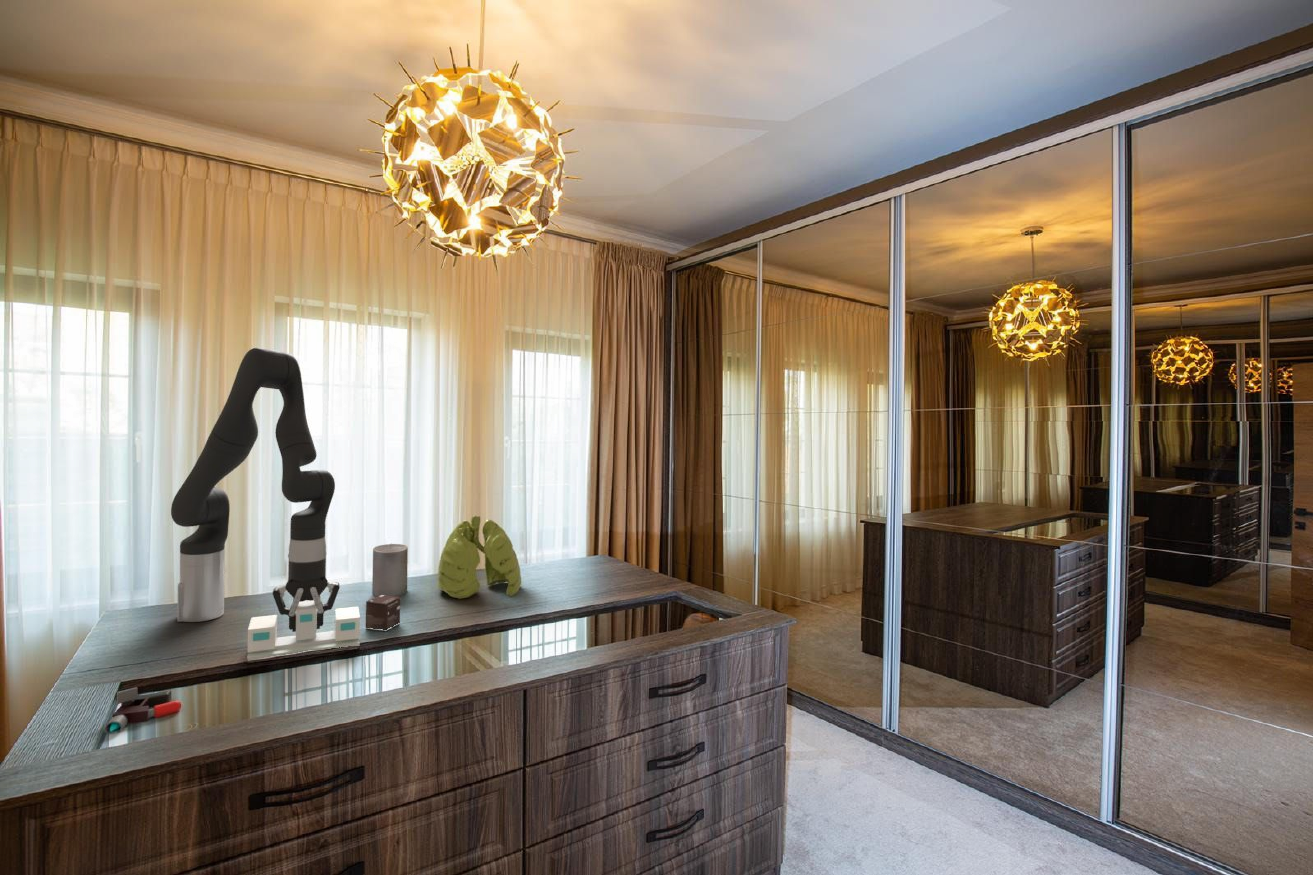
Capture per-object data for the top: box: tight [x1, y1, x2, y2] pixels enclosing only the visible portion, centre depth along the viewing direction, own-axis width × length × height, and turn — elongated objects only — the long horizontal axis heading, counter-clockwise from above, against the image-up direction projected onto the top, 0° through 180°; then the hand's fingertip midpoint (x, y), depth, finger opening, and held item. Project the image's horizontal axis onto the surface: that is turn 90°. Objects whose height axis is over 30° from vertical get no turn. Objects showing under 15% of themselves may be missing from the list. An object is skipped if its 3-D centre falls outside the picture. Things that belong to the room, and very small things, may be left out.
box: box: [365, 595, 401, 630], centre depth 158 cm, size 6×6×7 cm
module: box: [295, 600, 317, 641], centre depth 142 cm, size 4×6×7 cm, turn 29°
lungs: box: [437, 515, 522, 600], centre depth 189 cm, size 25×16×24 cm, turn 111°
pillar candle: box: [371, 543, 409, 597], centre depth 184 cm, size 10×10×15 cm
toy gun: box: [103, 687, 182, 735], centre depth 111 cm, size 10×12×5 cm
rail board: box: [246, 606, 361, 660], centre depth 142 cm, size 22×10×7 cm, turn 119°
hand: (306, 629), depth 142 cm, fingers open, 4 cm apart
